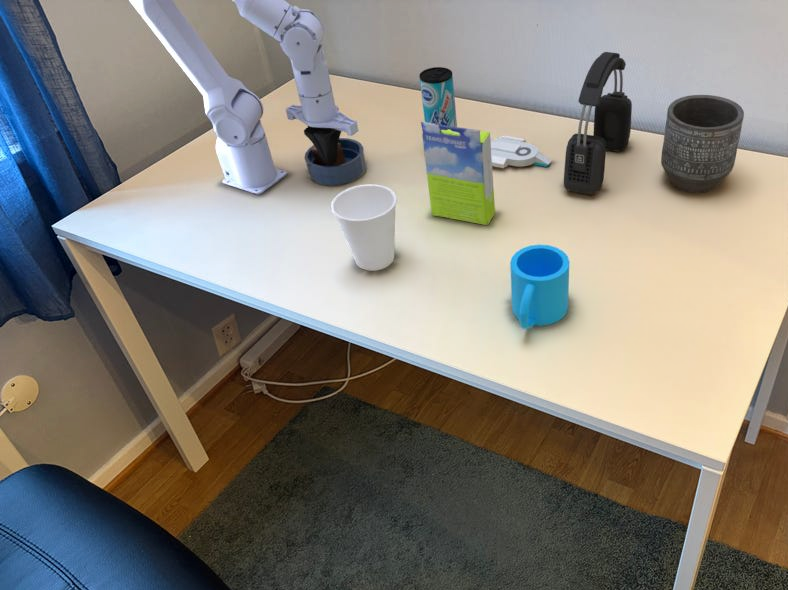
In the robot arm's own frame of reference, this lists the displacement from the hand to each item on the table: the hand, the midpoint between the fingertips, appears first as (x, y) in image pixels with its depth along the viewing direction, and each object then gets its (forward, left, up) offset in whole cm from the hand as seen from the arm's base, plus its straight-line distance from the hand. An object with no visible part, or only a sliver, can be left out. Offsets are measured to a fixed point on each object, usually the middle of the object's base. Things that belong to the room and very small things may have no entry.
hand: (330, 162), depth 134 cm
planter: (+59, +27, -4) cm, 65 cm away
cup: (+22, -17, -4) cm, 28 cm away
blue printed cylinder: (+13, +17, -4) cm, 22 cm away
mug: (+51, -17, -4) cm, 54 cm away
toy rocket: (+26, +20, -4) cm, 33 cm away
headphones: (+42, +24, -4) cm, 49 cm away
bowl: (-1, +2, -3) cm, 4 cm away
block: (-2, +2, -3) cm, 4 cm away
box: (+28, 0, -4) cm, 28 cm away
